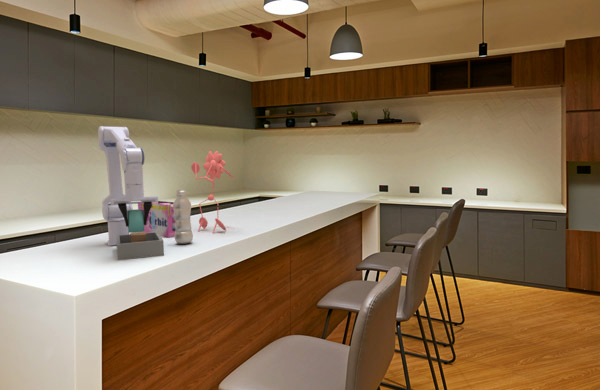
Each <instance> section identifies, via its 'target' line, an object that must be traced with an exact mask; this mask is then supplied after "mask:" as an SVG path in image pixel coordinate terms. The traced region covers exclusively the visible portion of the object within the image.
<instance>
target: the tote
mask: <svg viewBox="0 0 600 390" xmlns="http://www.w3.org/2000/svg"><path fill="white" fill-rule="evenodd" d="M116 240H117V245H116V253H117V261H121V260H122V261H123V260H125V261H126V260H131V259H132V260H133V259H140V258H141V259H142V258H149V257H151V258H152V257H158V256H159V257H160V256H165V250H164V248H165V247H164V239H163V237H162V236H160V235H159V233H158V232H149V233H146V241H145V242H134V243H131V242H130V233H129V234H126V235H116Z"/></svg>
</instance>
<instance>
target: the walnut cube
mask: <svg viewBox="0 0 600 390" xmlns="http://www.w3.org/2000/svg"><path fill="white" fill-rule="evenodd" d="M129 234H130V242H131V243H134V242H145V241H146V233H145V232H136V233H130V232H129Z"/></svg>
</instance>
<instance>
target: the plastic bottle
mask: <svg viewBox="0 0 600 390" xmlns="http://www.w3.org/2000/svg"><path fill="white" fill-rule="evenodd" d="M176 196H177V197H176V198H175V199H174V200H173V202H174V203H173V208H174V213H175V219H176V220H175V221H176V227H175V236H174V241H175V243H176V244H180V245H185V244H190V243H192V242H193V240H194V234H193V231H192V223H191V213H192V212H191V211H192V203H191V201H190V199H189V198H188V191H187V189H185V190H184V189H182V190H176Z"/></svg>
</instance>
